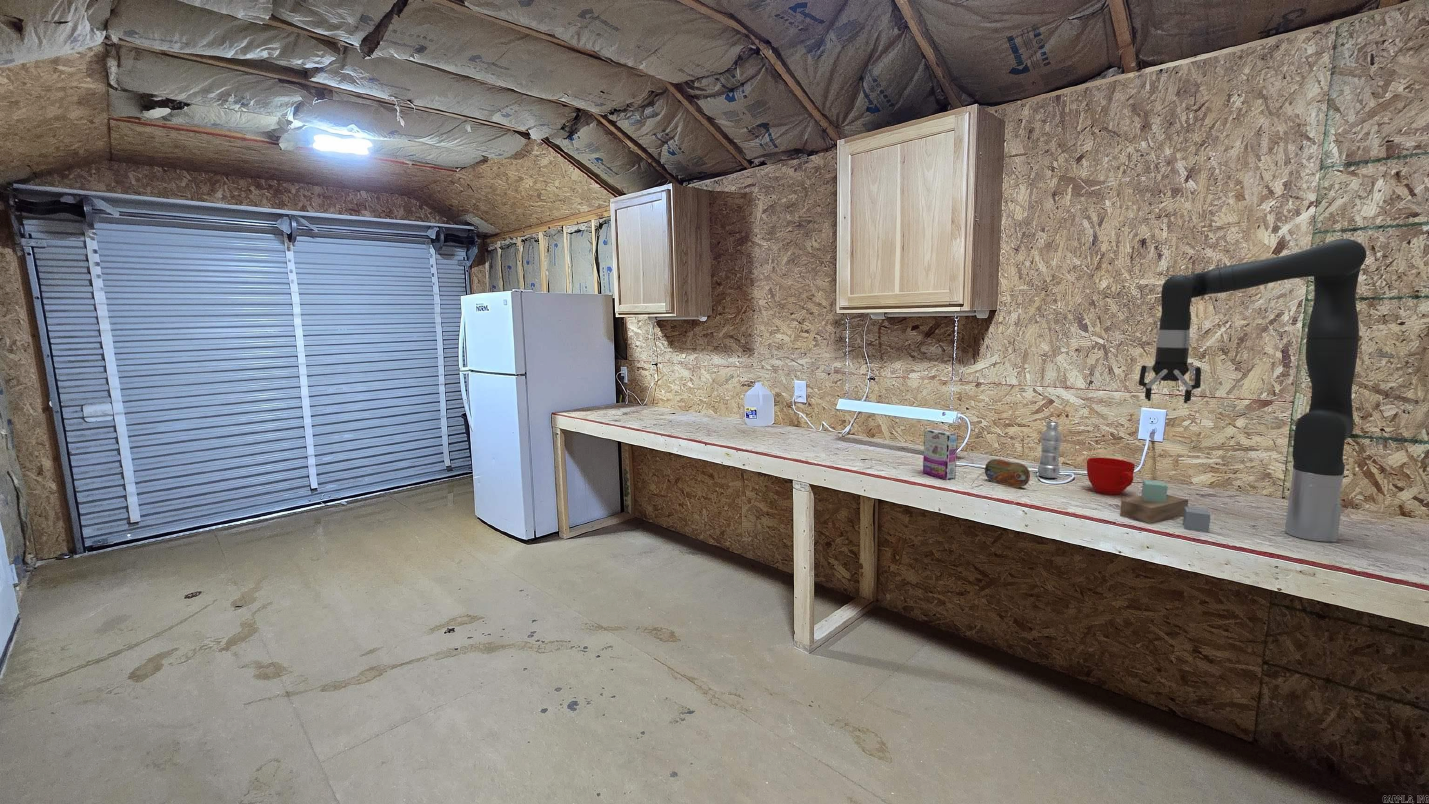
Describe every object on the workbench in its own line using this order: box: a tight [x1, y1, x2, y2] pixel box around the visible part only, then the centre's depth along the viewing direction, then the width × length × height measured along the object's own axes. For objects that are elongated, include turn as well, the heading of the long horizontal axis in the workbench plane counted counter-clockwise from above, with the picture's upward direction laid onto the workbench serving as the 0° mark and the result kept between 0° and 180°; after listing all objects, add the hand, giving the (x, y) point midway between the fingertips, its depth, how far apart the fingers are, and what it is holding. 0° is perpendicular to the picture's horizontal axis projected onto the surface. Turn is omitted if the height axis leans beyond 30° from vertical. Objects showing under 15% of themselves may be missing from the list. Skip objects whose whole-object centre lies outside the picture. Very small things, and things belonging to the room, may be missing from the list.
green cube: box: [1140, 479, 1169, 503], centre depth 172 cm, size 5×5×5 cm
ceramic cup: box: [1086, 457, 1136, 496], centre depth 193 cm, size 13×17×10 cm
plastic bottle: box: [1037, 420, 1063, 479], centre depth 212 cm, size 6×7×20 cm
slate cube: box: [1182, 506, 1211, 533], centre depth 162 cm, size 5×5×5 cm
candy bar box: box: [922, 428, 959, 481], centre depth 215 cm, size 11×5×16 cm, turn 27°
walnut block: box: [1119, 494, 1189, 525], centre depth 172 cm, size 8×18×5 cm, turn 116°
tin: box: [984, 458, 1031, 489], centre depth 204 cm, size 15×3×8 cm, turn 33°
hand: (1166, 401), depth 174 cm, fingers open, 8 cm apart
